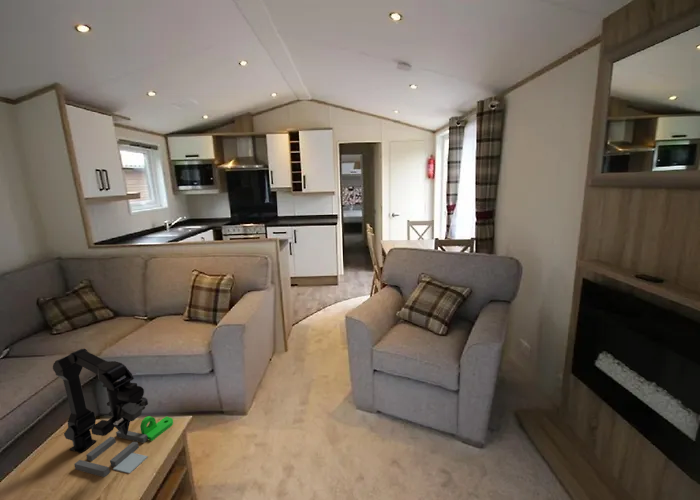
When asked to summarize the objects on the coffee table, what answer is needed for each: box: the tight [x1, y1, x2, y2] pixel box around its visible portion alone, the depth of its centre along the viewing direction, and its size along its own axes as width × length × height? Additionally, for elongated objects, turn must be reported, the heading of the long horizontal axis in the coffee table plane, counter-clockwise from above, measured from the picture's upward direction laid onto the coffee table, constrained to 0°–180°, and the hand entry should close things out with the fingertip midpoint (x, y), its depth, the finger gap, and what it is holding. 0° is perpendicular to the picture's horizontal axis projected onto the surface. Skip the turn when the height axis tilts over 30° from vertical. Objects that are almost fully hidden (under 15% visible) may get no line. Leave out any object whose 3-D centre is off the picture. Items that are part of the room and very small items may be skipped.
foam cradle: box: [73, 430, 149, 478], centre depth 134 cm, size 14×19×2 cm
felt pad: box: [112, 452, 149, 475], centre depth 129 cm, size 8×8×1 cm
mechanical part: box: [139, 415, 174, 442], centre depth 146 cm, size 12×6×8 cm, turn 158°
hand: (125, 434), depth 127 cm, fingers closed
